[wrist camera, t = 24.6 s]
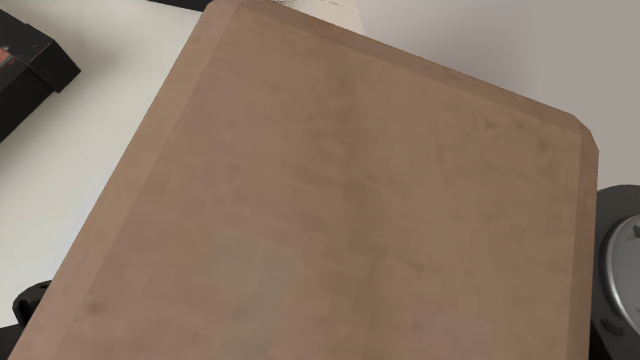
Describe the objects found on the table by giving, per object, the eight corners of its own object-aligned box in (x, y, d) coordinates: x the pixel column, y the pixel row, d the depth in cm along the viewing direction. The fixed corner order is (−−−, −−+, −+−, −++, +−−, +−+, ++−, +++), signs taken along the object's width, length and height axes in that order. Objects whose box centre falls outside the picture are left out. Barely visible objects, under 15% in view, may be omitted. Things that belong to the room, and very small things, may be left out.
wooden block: (372, 235, 27) (623, 113, 8) (335, 373, 24) (608, 719, 5) (250, 192, 26) (211, -44, 8) (195, 326, 23) (-114, 501, 4)
